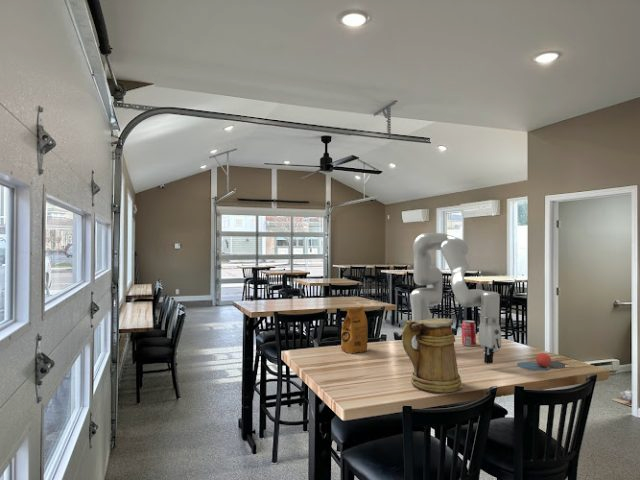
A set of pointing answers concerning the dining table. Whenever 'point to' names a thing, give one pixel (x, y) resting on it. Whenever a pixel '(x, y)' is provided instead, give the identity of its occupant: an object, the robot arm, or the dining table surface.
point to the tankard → (432, 355)
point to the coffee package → (354, 331)
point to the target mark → (532, 366)
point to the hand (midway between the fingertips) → (488, 362)
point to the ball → (543, 360)
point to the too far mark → (557, 364)
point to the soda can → (468, 333)
